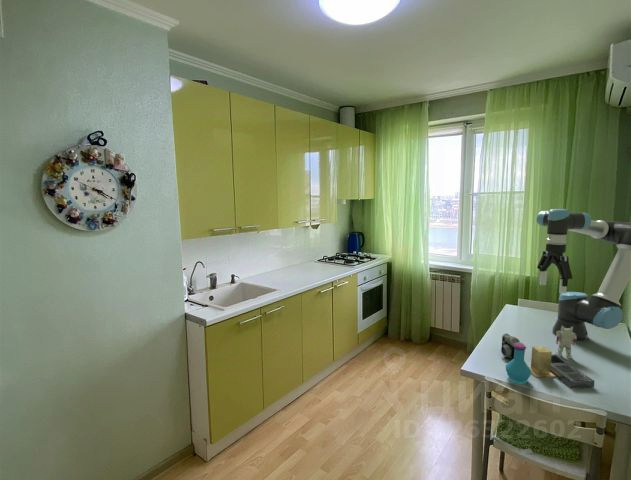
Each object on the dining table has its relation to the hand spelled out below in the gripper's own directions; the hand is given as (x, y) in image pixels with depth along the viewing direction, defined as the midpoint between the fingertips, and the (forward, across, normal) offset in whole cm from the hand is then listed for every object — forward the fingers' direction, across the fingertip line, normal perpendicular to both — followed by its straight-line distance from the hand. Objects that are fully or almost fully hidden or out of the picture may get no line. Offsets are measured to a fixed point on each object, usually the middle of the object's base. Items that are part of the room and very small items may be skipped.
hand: (552, 288), depth 160 cm
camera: (+32, +2, -19) cm, 37 cm away
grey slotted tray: (+32, +18, -5) cm, 37 cm away
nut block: (+31, +17, -14) cm, 38 cm away
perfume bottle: (+32, +22, -26) cm, 47 cm away
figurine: (+32, +3, +6) cm, 33 cm away
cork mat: (+32, +17, -14) cm, 39 cm away
